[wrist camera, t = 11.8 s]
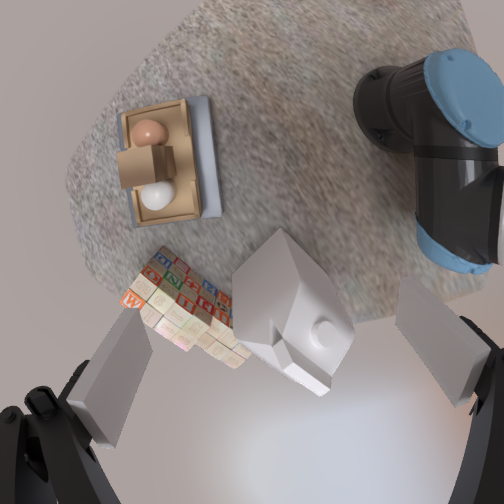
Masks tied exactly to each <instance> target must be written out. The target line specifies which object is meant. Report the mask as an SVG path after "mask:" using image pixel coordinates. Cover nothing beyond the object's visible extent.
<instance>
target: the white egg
mask: <svg viewBox="0 0 504 504" xmlns="http://www.w3.org/2000/svg"><path fill="white" fill-rule="evenodd" d="M176 195H177V187H176V184H175V183H174V182H173V181H172V180H171V179H169V178H168V179H165V180H163V181H160V182H157V183H152V184H147V185H145V186H144V187H143V189H142V192H141V199H142V202H143V204H144V205H145V206H146V207H147V208H148V209H150V210H160V209H162V208H164V207H165V206H166V205H168V204H169V203H171V202H172V201H173V200H174V199H175V198H176Z"/></svg>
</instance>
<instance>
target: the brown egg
mask: <svg viewBox="0 0 504 504" xmlns="http://www.w3.org/2000/svg"><path fill="white" fill-rule="evenodd" d="M168 137H169V132H168V129H167V127H166V126H165V125H164V124H162V123H159V122H156V121H152V120H148V119H145V120H141V121H139V122H138V123H137V124H136V125H135V126H134V128H133V130H132V141H133V143H134V144H135V145H136V146H137V147H144V146H148V145H161V146H164V145H165V144H166V142H167V140H168Z"/></svg>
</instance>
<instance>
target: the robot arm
mask: <svg viewBox="0 0 504 504" xmlns="http://www.w3.org/2000/svg"><path fill="white" fill-rule="evenodd" d="M353 102H354V112H355V116H356V119H357V122H358V124H359V126H360V128H361V130H362V131H363V133H364V134H365V135H366V136H367V138H368V139H369V140H370V141H371V142H373V143H374V144H375V145H377V146H378V147H380V148H382V149H384V150H386V151H389V152H395V153H409V152H413V151H414V162H415V184H416V212H415V221H416V227H417V243H418V246H419V247H420V249H421V251H422V252H423V254H424V255H425V256H426V257H427V258H428V259H430V260H431V261H432V262H434V263H436V264H437V265H439V266H441V267H443V268H446V269H448V270H451V271H454V272H457V273H462V274H467V273H468V272H469V273H471V274H473V275H475V274H482V273H484V272H487V271H488V270H489V269H490V268H491V266H492V265H493V263H495V264H498V265H503V264H504V166H499V164H498V150H497V149H498V147H497V146H499V145H500V144H502V143H504V86H503V84H502V82H501V80H500V79H499V77H498V76H497V74H496V73H495V72H493V70H492V69H491V67H490V66H489V65H488V64H487V63H486V62H485V61H484V60H483V59H482V58H480V57H479V56H477V55H476V54H474V53H472V52H470V51H467V50H464V49H459V48H454V49H448V50H445V51H439V52H434V53H431V54H430V55H429V56H427V57H425V58H423V59H420V60H418V61H416V62H414V63H412V64H409V65H407V66H405V67H398V66H382V67H378V68H376V69H374V70H372V71H370V72H369V73H367V74H366V75H365V76H363V77H362V79H361V80H360V81H359V83H358V85H357V87H356V89H355V93H354V101H353ZM395 324H396V326H397V327H398V328H399V330H400V331H401V332H402V334H403V335H404V336H405V338H406V339H407V340H408V342H409V343H410V344H411V346H412V347H413V348H414V350H415V351H416V353H417V354H418V355H419V357H420V358H421V359H422V361H423V362H424V364H425V365H426V366H427V368H428V369H429V371H430V372H431V373H432V375H433V376H434V378H435V379H436V381H437V382H438V384H439V385H440V387H441V388H442V389H443V391H444V392H445V394H446V395H447V397H448V398H449V400H450V401H451V403H452V404H453V406H454V407H455V408H456V407H458V406H460V405H462V404H465V403H467V402H469V400H470V398H471V396H472V394H473V392H475V393H476V394H477V396H478V397H477V399H476V401H475V404H474V405H473V407H472V409H471V411H470V413H469V415H471V414H472V413H473V418H472V423H471V428H470V433H469V437H468V441H467V445H466V450H465V454H464V457H463V461H462V465H461V468H460V471H459V475H458V477H457V481H456V484H455V487H454V490H453V492H452V495H451V498H450V501H449V503H448V504H504V348H502V349H500V348H499V347H498V346H497V345H496V344H495V343H494V342H493V341H492V340H491V339H490V338H489V337H488V336H487V335H486V334H485V333H483V332H482V330H481V329H480V328H478V327H477V326H476V325H475V324H474V323H473V322H472V321H471V320H469V319H467V318H465V317H463V316H459V317H458V316H457V315H456V314H455V313H454V312H453V311H452V310H451V309H450V308H449V307H448V306H447V305H445V304H444V303H443V302H442V301H441V300H440V299H439V298H438V297H437V296H436V295H434V294H433V293H432V292H431V291H430V290H429V289H428V288H426V287H425V286H424V285H423V284H422V283H421V282H420V281H418V280H417V279H416V278H415V277H414V276H409V277H403V278H400V288H399V298H398V306H397V314H396V321H395ZM152 352H153V351H152V348H151V345H150V342H149V339H148V336H147V333H146V330H145V327H144V324H143V321H142V318H141V314H140V311H139V308H138V307H137V308H125V309H124V310H123V312H122V313H121V315H120V316H119V318H118V319H117V321H116V322H115V324H114V325H113V327H112V328H111V329H110V331H109V333H108V334H107V336H106V337H105V338H104V340H103V341H102V343H101V345H100V346H99V347H98V349H97V351H96V352H95V354H94V355H93V357H92V358H91V360H85V361H84V362H83V363H82V364H81V365H79V366H78V367H77V369H76V370H75V372H74V373H73V376H71V378H70V380H69V382H68V383H67V384H66V386H65V387H64V389H63V391H62V392H61V394H60V395H59V397H58V399H57V398H56V396H55V395H54V393H53V391H52V390H51V388H49V387H47V386H39V387H36V388H34V389H33V390H31V391H30V392H29V393H28V394H27V395H26V397H25V401H24V403H25V405H26V406H27V408H28V409H29V410H30V412H31V413H32V414H31V415H30V414H29V415H24V414H23V412H22V411H21V410H20V408H19V407H17V406H10V407H7V408H5V409H4V410H3V411H2V412H1V413H0V504H57V501H58V504H121V503H120V501H119V499H118V498H117V496H116V494H115V492H114V491H113V489H112V487H111V486H110V483H109V482H108V479H107V478H106V476H105V474H104V472H103V470H102V468H101V466H100V464H99V461H98V459H97V457H96V455H95V453H94V451H93V449H92V448H91V446H90V445H89V444H90V442H91V439H92V438H93V440H94V441H95V442H96V444H97V445H98V446H99V447H104V448H111V449H115V447H116V445H117V442H118V439H119V436H120V434H121V431H122V428H123V426H124V423H125V420H126V418H127V415H128V412H129V410H130V407H131V404H132V402H133V399H134V397H135V394H136V392H137V389H138V387H139V384H140V382H141V379H142V377H143V374H144V371H145V369H146V367H147V364H148V362H149V359H150V357H151V354H152ZM473 411H474V412H473ZM56 498H57V499H56Z"/></svg>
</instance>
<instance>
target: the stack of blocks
mask: <svg viewBox="0 0 504 504" xmlns="http://www.w3.org/2000/svg"><path fill="white" fill-rule="evenodd" d="M120 303H121V304H122V305H123V306H124V307H126V308H137V307H138V308H139V311H140V314H141V318H142V321H143V322H144V323H146V324H147V325H148V326H149V327H151V328H154V330H155V331H156V332H158V333H159V334H161V335H162V336H164V337H165V338H166V339H168V340H171V342H173V343H174V344H176V345H177V346H179V347H180V348H182V349H183V350H185V351H186V352H187V351H188V350H189V349H190V348H191V347H192V346H193V345H194V344H196V345H197V346H199V347H201V348H202V349H203V350H205V351H206V352H207V353H209V354H210V355H212V356H213V357H215V358H216V359H218V360H220V361H222V362H223V363H225V364H226V365H228V366H229V367H231V368H233V369H236V368H237V367H238V366H240V365H241V364H242V363H243V362H244V361H245V360H246V359H247V358H248V357H250V356H251V355H252V353H251V352H249V351H248V350H247V349H245V348H244V347H243V346H242V345H241V344H240V343H239V342H238V341H237V339H236V338H235V337H234V335H233V314H232V300H231V299H230V298H228V297H227V296H226V295H224V294H223V293H222V292H221V291H219V290H217V289H216V288H215V287H214V286H212V285H211V284H210V283H208V282H207V281H206V280H204V279H203V278H202V277H201V276H199V275H198V274H197V273H196V272H194V271H193V270H192V269H191V268H190V267H189V266H188V265H186V264H185V263H184V262H183V261H181V260H180V259H179V258H178V257H176V255H174V254H173V253H172V252H171V251H169V250H168V249H167V248H166V247H165V246H163V247H162V248H161V249H160V250H159V251H158V252H157V254H156V255H155V256H154V257H153V258H152V259H151V260H150V261H149V262H148V263H147V264H146V266H145V267H144V269H143V270H142V271H141V273H140V274H139V275H138V277H137V278H136V279H135V281H134V282H133V284H132V285H131V286H130V288H129V289H128V291H127V292H126V293H125V295H124V296H123V298H122V299H121V301H120Z"/></svg>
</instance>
